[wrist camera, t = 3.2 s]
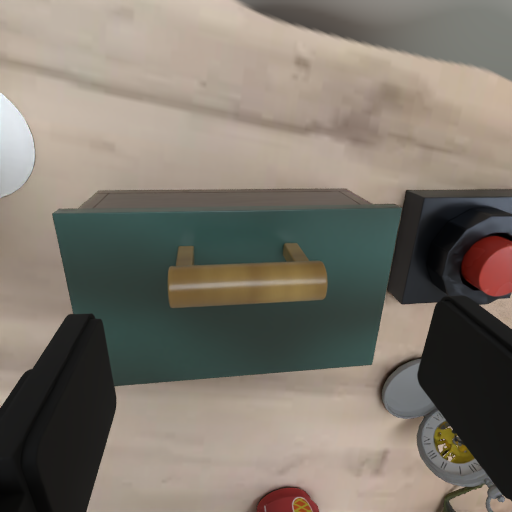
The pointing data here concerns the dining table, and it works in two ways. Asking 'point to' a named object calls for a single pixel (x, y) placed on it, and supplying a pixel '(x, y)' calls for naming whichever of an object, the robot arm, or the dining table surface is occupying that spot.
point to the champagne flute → (14, 148)
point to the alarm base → (445, 242)
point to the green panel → (230, 286)
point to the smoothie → (287, 501)
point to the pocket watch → (434, 432)
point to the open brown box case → (221, 198)
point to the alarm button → (489, 265)
